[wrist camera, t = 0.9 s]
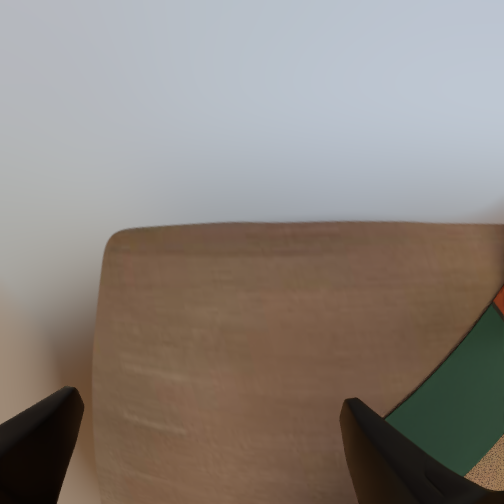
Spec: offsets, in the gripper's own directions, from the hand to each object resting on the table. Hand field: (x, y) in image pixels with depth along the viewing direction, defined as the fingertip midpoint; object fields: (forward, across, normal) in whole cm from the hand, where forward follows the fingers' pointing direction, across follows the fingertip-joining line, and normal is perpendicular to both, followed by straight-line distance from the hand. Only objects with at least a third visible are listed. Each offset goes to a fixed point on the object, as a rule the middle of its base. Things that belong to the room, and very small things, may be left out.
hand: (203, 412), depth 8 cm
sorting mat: (+6, -24, +5) cm, 25 cm away
